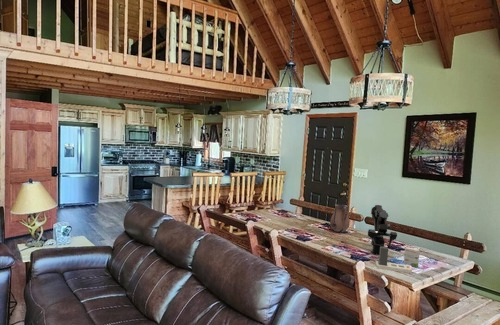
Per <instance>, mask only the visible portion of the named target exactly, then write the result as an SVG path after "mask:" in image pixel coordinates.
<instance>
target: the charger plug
mask: <svg viewBox="0 0 500 325" xmlns="http://www.w3.org/2000/svg"><path fill="white" fill-rule="evenodd" d="M388 254H389V248H388V247H387V246H383V247H382V246H380V253H379V255H378V256H379V257H378V261H379V265H385V266H387V262H388V256H389V255H388Z"/></svg>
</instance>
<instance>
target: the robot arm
mask: <svg viewBox="0 0 500 325" xmlns="http://www.w3.org/2000/svg"><path fill="white" fill-rule="evenodd" d="M370 215H371V218H372V219H373V222H374V223H373V224H374V226H373V227H374V229H368V230H367V237H369V238H370V239H371V241H370V243H371V244H370V245H371V246H372V250H371V251H370V253H371V254H373V255H378V256H379V253H380V246H382V247H385V242H386V241H385V238H384V237H389V238H388V239H389V240H388V246H389V247H390V246H391V244H392V241H394V240H396V239H397V237H398V232H396V231H390V232H388V230H390V229H391V224H388V223H387V220H388V218H389V214H388V212H387V211H386V210H385V209H383V206H382V205H380V204H375V205H374V206H373V207H371V211H370Z"/></svg>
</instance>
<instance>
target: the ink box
mask: <svg viewBox="0 0 500 325" xmlns="http://www.w3.org/2000/svg"><path fill="white" fill-rule="evenodd" d="M403 254H404V256H403V264H405V265H409V266H410V267H413V268H416V269H417V268H418V267H419V260H420V249H417V248H412V247H409V246H406V247H405V248H404V253H403Z"/></svg>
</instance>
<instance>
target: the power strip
mask: <svg viewBox="0 0 500 325" xmlns="http://www.w3.org/2000/svg"><path fill="white" fill-rule="evenodd" d="M374 264H375V267H376V269H380V270H387V271H394V272H401V273H406V274H407V273H408V274H413V273H412V272H413V271H412V268H411V265H409V264H401V263H394V262H388V261H387V266H385V265H379V260H375V262H374Z"/></svg>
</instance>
